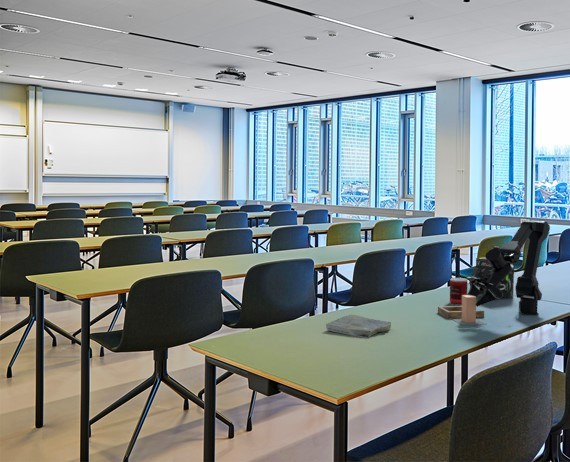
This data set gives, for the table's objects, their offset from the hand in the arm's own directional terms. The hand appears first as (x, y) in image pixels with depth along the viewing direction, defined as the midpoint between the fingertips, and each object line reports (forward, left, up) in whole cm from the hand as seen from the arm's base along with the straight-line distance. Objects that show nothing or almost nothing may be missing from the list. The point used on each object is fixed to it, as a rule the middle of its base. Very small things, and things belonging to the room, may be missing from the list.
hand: (470, 303), depth 236 cm
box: (-20, -53, -8) cm, 58 cm away
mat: (+1, 0, -8) cm, 8 cm away
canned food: (-1, -37, -8) cm, 38 cm away
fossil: (+43, +17, -8) cm, 47 cm away
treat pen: (+3, -17, -8) cm, 19 cm away
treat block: (+1, 0, -7) cm, 7 cm away
